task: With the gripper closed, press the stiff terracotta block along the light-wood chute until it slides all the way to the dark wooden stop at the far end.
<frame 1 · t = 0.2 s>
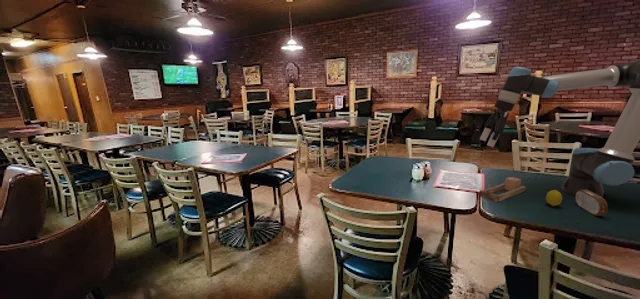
hand: (486, 143, 132), 28 cm above the table, tool tilted 20°, fingers open, 13 cm apart
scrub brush: (588, 211, 117), on the table
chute: (502, 193, 139), on the table
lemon: (552, 206, 123), on the table
block: (512, 184, 142), point 3 cm above the table, slide at 0.0 cm
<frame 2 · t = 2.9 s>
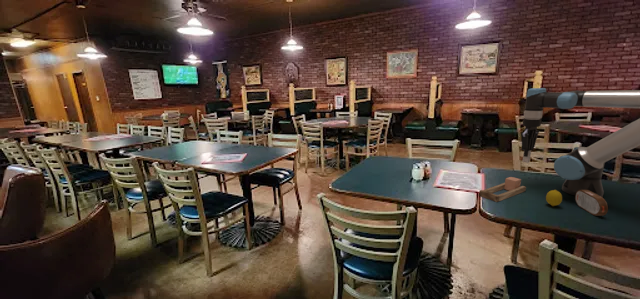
hand: (525, 161, 144), 14 cm above the table, tool pointing down, fingers closed
nothing on the table moved.
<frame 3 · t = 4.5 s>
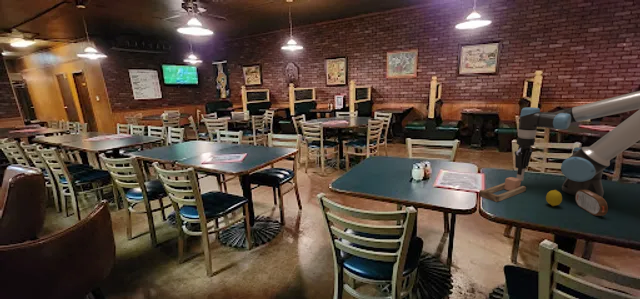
hand: (519, 179, 145), 4 cm above the table, tool pointing down, fingers closed
nothing on the table moved.
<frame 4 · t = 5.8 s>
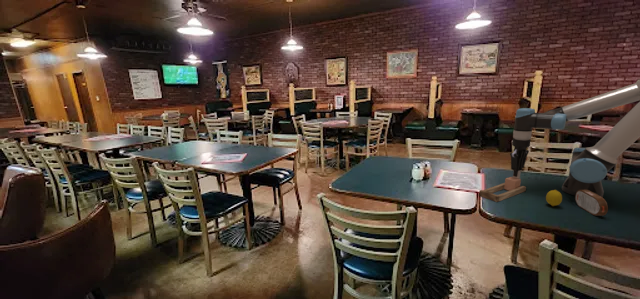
hand: (515, 181, 143), 4 cm above the table, tool pointing down, fingers closed
block: (512, 184, 142), point 3 cm above the table, slide at 0.1 cm, touching gripper
everything else where it was.
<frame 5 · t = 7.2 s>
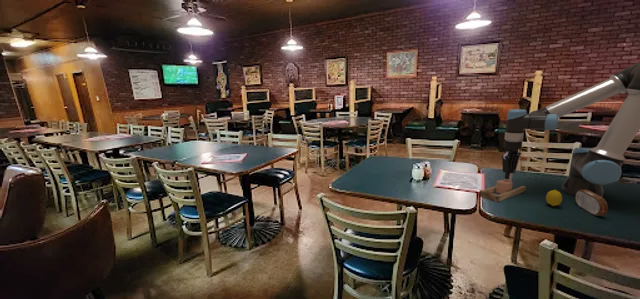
hand: (507, 184, 140), 4 cm above the table, tool pointing down, fingers closed
block: (504, 187, 138), point 3 cm above the table, slide at 7.6 cm, touching gripper
everything else where it was.
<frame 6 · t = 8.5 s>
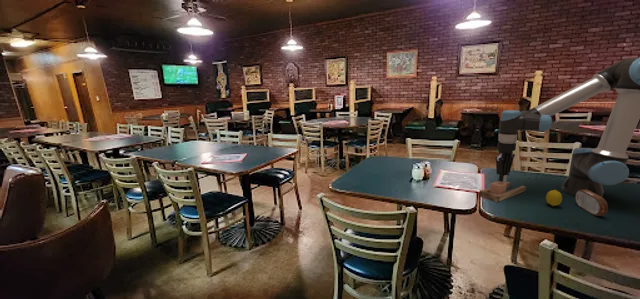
hand: (501, 186, 137), 4 cm above the table, tool pointing down, fingers closed
block: (497, 189, 136), point 3 cm above the table, slide at 13.0 cm, touching gripper
everything else where it was.
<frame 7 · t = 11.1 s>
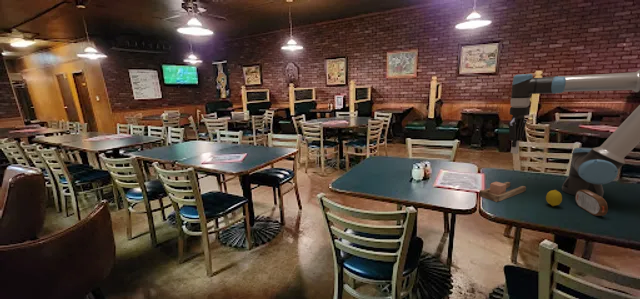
hand: (514, 153, 137), 21 cm above the table, tool pointing down, fingers closed
block: (497, 189, 136), point 3 cm above the table, slide at 13.2 cm
everything else where it was.
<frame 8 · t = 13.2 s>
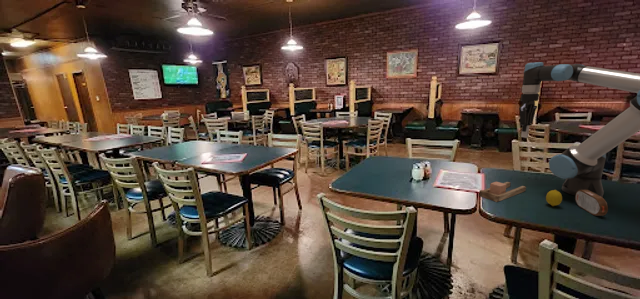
hand: (524, 137, 146), 26 cm above the table, tool pointing down, fingers closed
nothing on the table moved.
at the end: block slide at 13.2 cm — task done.
